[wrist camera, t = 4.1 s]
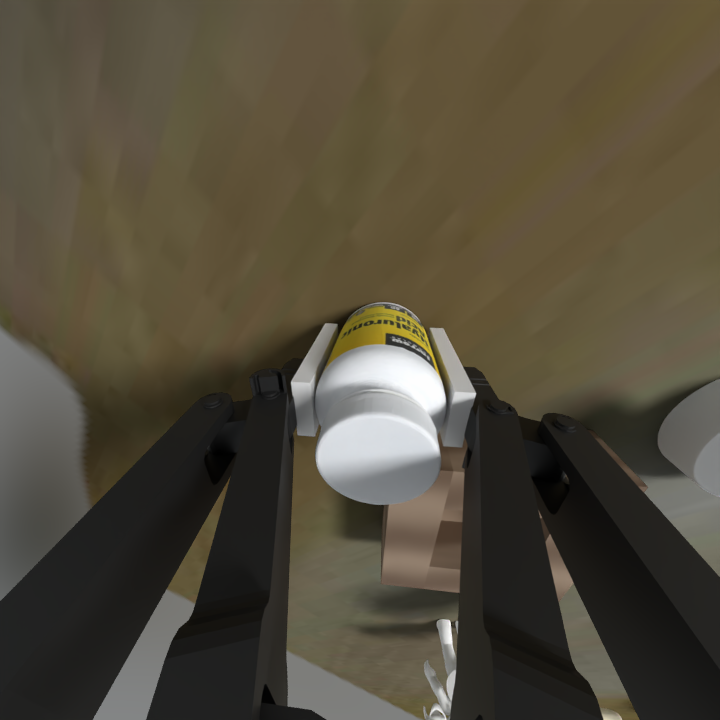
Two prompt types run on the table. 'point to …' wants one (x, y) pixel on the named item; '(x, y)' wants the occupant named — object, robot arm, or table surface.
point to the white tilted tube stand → (695, 437)
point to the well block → (447, 531)
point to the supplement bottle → (380, 408)
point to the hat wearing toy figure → (450, 663)
